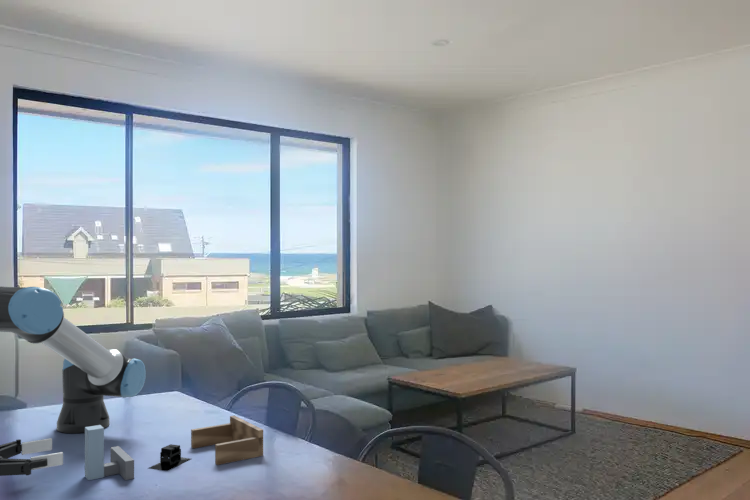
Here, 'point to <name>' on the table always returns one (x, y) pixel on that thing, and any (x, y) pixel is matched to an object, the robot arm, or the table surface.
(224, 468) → the table surface
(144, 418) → the table surface
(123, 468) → the block
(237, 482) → the table surface
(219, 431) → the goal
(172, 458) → the black angular piece
